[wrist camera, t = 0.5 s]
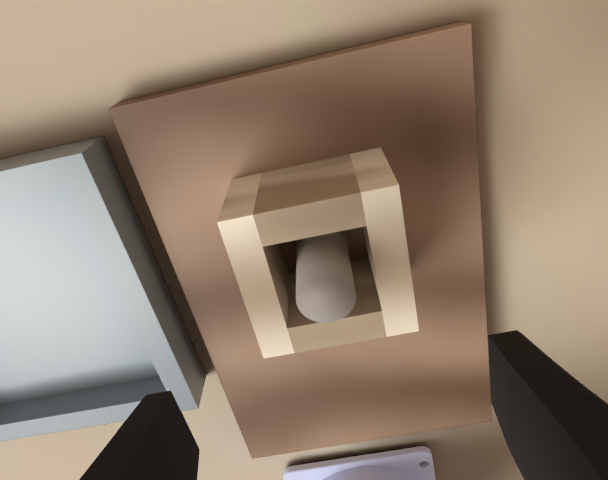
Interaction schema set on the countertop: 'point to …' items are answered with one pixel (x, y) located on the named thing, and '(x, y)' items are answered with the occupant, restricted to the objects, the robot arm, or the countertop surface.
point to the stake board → (308, 131)
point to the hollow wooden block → (313, 222)
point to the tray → (81, 298)
